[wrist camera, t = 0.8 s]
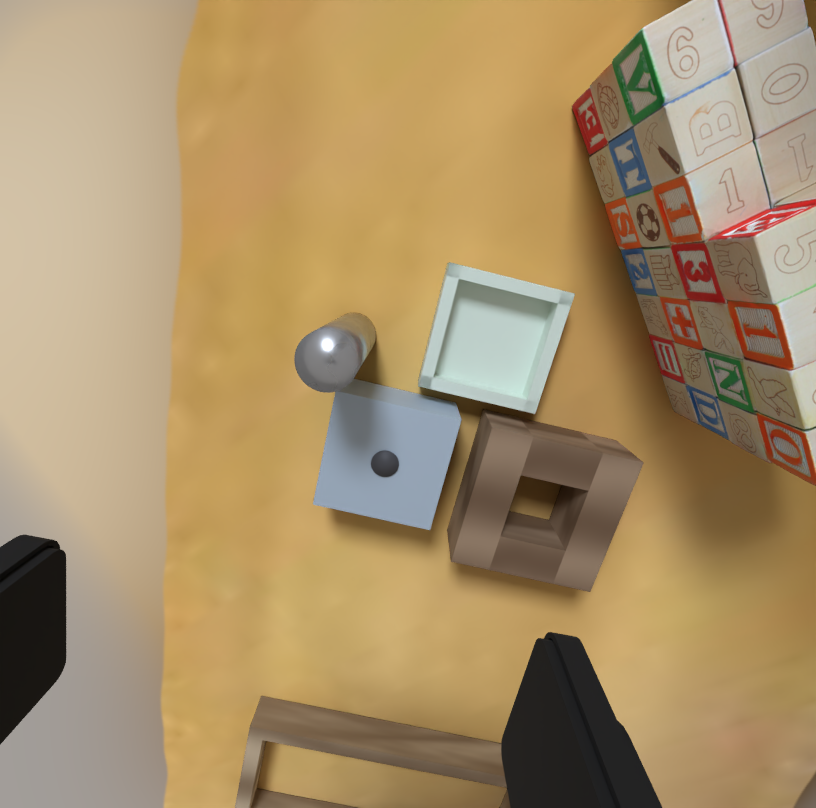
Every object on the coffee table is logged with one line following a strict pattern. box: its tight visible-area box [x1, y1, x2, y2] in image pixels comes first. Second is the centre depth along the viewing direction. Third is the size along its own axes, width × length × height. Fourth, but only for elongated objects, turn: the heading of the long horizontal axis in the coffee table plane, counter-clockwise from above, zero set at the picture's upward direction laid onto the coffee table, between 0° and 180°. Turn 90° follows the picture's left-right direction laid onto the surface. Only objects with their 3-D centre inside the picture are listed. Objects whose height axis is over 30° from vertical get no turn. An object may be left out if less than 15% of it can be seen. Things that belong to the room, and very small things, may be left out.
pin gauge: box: [295, 313, 376, 392], centre depth 26 cm, size 3×3×10 cm
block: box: [313, 379, 461, 530], centre depth 31 cm, size 8×8×4 cm
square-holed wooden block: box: [447, 409, 643, 592], centre depth 32 cm, size 10×10×4 cm
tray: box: [418, 262, 575, 414], centre depth 30 cm, size 8×8×2 cm
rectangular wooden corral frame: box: [235, 696, 510, 808], centre depth 41 cm, size 12×25×3 cm, turn 77°
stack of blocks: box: [572, 0, 816, 486], centre depth 23 cm, size 21×6×12 cm, turn 26°
